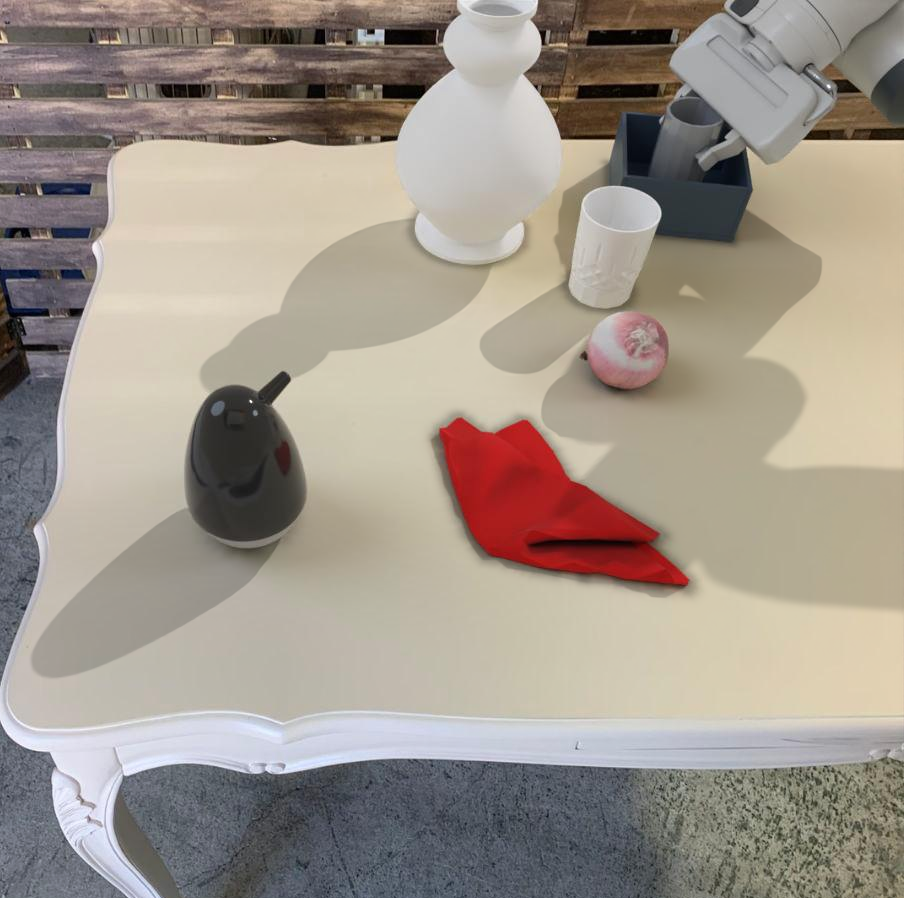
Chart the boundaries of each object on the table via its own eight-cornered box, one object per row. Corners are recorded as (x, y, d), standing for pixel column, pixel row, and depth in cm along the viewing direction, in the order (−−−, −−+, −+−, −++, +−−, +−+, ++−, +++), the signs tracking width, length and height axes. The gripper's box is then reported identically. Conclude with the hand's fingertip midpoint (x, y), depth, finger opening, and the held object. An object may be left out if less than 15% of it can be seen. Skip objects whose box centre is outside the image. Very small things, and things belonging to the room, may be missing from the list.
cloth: (390, 455, 83) (390, 439, 82) (501, 394, 88) (504, 377, 86) (586, 657, 71) (593, 643, 69) (704, 573, 76) (712, 558, 74)
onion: (595, 407, 87) (612, 351, 82) (567, 354, 92) (581, 297, 86) (671, 394, 89) (693, 338, 83) (639, 342, 93) (659, 286, 87)
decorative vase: (534, 185, 109) (575, -43, 89) (557, 279, 99) (611, 44, 79) (388, 187, 109) (396, -43, 89) (396, 281, 98) (408, 45, 78)
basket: (723, 174, 111) (742, 122, 106) (731, 243, 103) (753, 189, 98) (608, 163, 112) (622, 110, 107) (608, 230, 104) (622, 176, 99)
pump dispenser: (334, 522, 79) (331, 398, 66) (239, 587, 75) (217, 468, 62) (263, 456, 83) (247, 328, 71) (169, 514, 79) (136, 389, 67)
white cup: (592, 257, 101) (613, 176, 93) (650, 290, 98) (677, 209, 90) (548, 288, 98) (566, 207, 90) (607, 323, 95) (630, 242, 87)
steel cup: (699, 173, 108) (723, 99, 101) (702, 204, 104) (728, 129, 97) (645, 167, 108) (665, 94, 101) (646, 198, 105) (667, 124, 97)
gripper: (856, 111, 92) (740, 212, 99) (747, 21, 104) (649, 117, 110) (838, 74, 88) (718, 182, 94) (727, -16, 99) (626, 86, 105)
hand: (680, 146), depth 102 cm, fingers closed on steel cup, 6 cm apart
